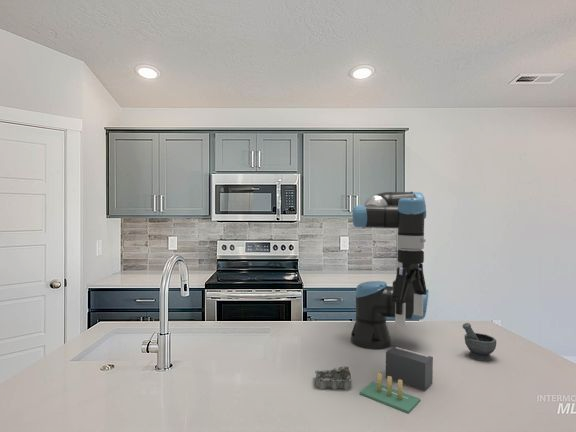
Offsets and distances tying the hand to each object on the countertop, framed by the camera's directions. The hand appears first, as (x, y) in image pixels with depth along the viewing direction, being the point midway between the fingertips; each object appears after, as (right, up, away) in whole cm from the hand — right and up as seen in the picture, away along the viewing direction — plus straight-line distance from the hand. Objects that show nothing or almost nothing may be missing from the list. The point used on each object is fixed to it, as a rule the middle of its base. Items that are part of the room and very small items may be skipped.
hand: (409, 320), depth 105 cm
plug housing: (0, -18, 0) cm, 18 cm away
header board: (-9, -18, -10) cm, 22 cm away
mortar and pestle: (+31, -19, +18) cm, 40 cm away
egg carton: (-23, -19, -2) cm, 30 cm away
